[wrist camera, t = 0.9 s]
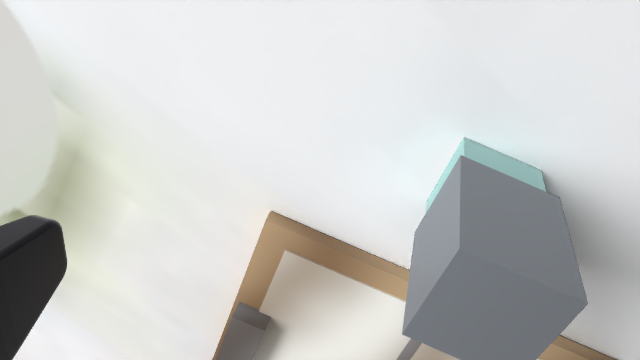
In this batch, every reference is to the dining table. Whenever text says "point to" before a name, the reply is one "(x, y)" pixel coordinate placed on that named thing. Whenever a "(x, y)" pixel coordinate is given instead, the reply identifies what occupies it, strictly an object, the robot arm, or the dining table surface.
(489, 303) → the grey and teal block
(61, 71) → the dining table surface
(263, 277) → the square wooden frame
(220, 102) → the dining table surface
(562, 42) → the dining table surface
